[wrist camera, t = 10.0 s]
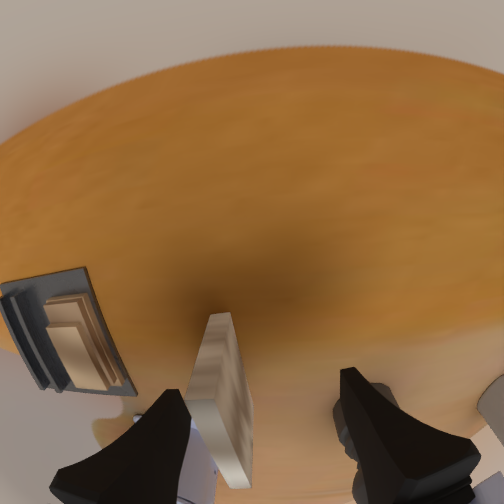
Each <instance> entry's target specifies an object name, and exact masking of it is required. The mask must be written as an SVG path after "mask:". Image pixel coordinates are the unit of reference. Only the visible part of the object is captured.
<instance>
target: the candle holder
mask: <svg viewBox="0 0 504 504" xmlns="http://www.w3.org/2000/svg"><path fill="white" fill-rule="evenodd" d="M370 384H371V385H372V386H373V387H374V388H375V389H376V390H378V391H379V392H380V393H381V394H382V395H383V396H384V397H385V398H387V399H388V400H389V401H390V402H392V403H393V404H394V405H395V406H397V407H398V408H399V406H398V404H397V402H396V400H395V398H394V396H393V394H392V392H391V390H390V388H389V387H388V386H386V385H384V384H382V383H370ZM333 418H334V422H335V426H336V430H337V433H338V437H339V441H340V442H341V443H342V445H343V446H344V447H345V453H346V454H347V455H348V456H349V457H350V458H351V459H354V460H355V461H356V462H358V464H357V469H358V471H357V473H356V475H355V478H354V481H353V487H352V494H353V498H354V499H355V501H356V503H357V504H368V498H367V492H366V487H365V482H364V478H363V473H362V469H361V464H360V461H359V458H358V455H357V452H356V449H355V447H354V444H353V441H352V439H351V436H350V433H349V431H348V428H347V425H346V422H345V420H344V416H343V412H342V407H341V403H340V399H339V400H338V401H337V403H336V405H335V407H334V408H333Z"/></svg>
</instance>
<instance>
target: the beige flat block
mask: <svg viewBox="0 0 504 504" xmlns="http://www.w3.org/2000/svg"><path fill="white" fill-rule="evenodd" d="M184 401H185V403H186V406H187V408H188V410H189V412H190V414H191V416H192V418H193V420H194V422H195V425H196V427H197V429H198V431H199V433H200V435H201V437H202V439H203V440H204V442H205V444H206V446H207V448H208V450H209V452H210V454H211V456H212V457H213V459H214V461H215V463H216V465H217V467H218V468H219V470H220V472H221V474H222V475H223V477H224V479H225V480H226V482H227V484H228V485H229V487H230V489H242V488H252V456H253V416H254V405H253V401H252V397H251V394H250V390H249V386H248V382H247V378H246V374H245V370H244V366H243V363H242V359H241V355H240V351H239V347H238V342H237V338H236V334H235V330H234V326H233V322H232V318H231V313H230V312H227V313H219V314H211V315H210V317H209V320H208V323H207V327H206V330H205V333H204V336H203V339H202V343H201V346H200V349H199V352H198V356H197V359H196V362H195V365H194V369H193V372H192V375H191V378H190V382H189V385H188V388H187V392H186V395H185V398H184Z"/></svg>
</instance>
